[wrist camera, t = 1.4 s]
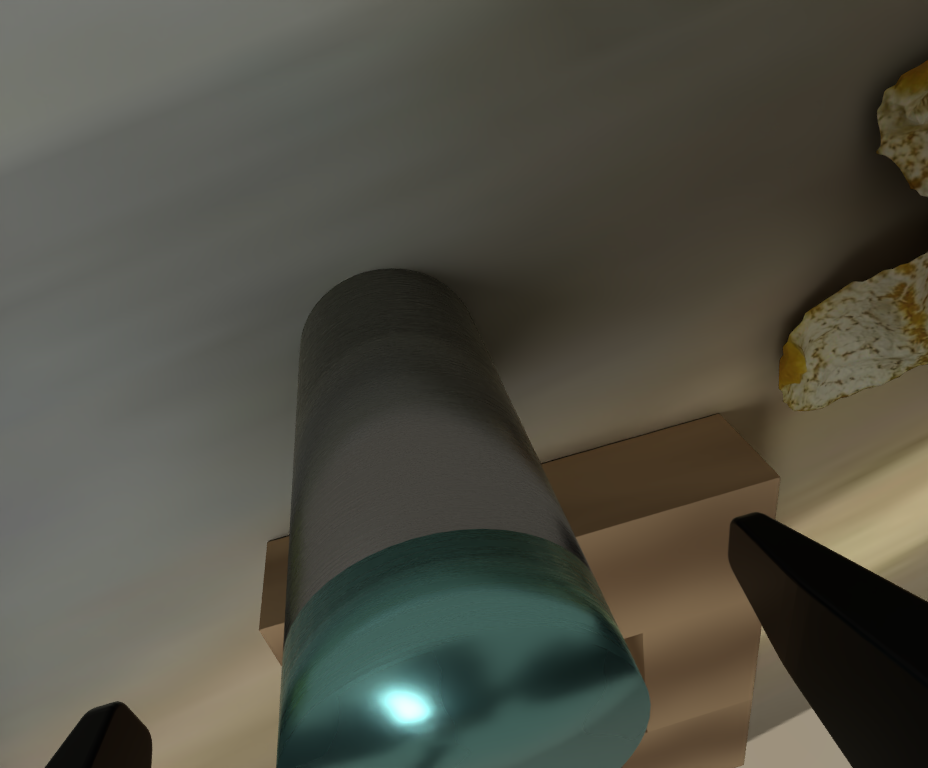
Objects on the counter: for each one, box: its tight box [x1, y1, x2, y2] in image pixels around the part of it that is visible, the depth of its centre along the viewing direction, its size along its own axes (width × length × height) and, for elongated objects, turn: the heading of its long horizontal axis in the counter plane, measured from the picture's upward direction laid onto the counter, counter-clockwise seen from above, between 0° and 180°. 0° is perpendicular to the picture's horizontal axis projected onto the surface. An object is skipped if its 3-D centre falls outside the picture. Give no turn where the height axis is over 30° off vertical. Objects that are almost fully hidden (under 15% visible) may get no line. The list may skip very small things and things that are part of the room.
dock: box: [259, 414, 780, 768], centre depth 22 cm, size 16×14×3 cm
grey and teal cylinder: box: [276, 269, 651, 768], centre depth 11 cm, size 4×4×10 cm
